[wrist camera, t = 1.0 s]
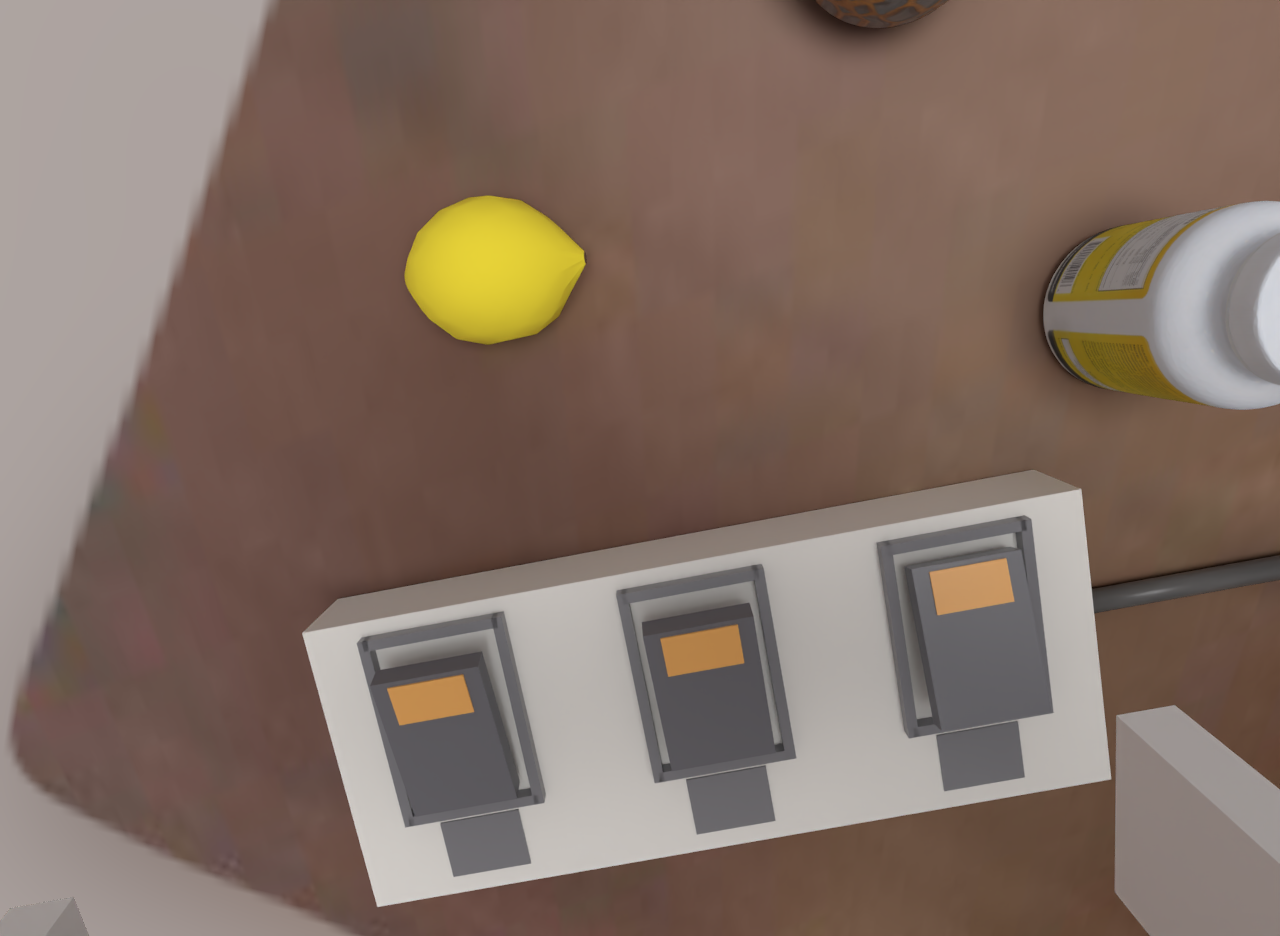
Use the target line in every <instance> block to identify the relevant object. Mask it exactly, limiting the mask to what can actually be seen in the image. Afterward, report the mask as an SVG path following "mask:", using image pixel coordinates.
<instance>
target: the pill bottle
mask: <svg viewBox="0 0 1280 936" xmlns="http://www.w3.org/2000/svg"><path fill="white" fill-rule="evenodd" d="M1043 322H1044V329H1045V334H1046V338H1047V341H1048V344H1049V346H1050V348H1051V350H1052V352H1053V354H1054V355H1055V357H1056V358H1057V360H1058V361H1059V362H1060V364H1061V365H1062V366H1063V367H1064V368H1065V369H1066V370H1067V371H1068V372H1070V373H1071V374H1072V375H1073V376H1075V377H1076V378H1078V379H1080V380H1082V381H1084V382H1085V383H1088V384H1090V385H1093V386H1096V387H1100V388H1104V389H1109V390H1114V391H1120V392H1127V393H1133V394H1139V395H1145V396H1151V397H1157V398H1163V399H1169V400H1176V401H1182V402H1188V403H1194V404H1201V405H1207V406H1213V407H1218V408H1226V409H1237V410H1246V409H1258V408H1264V407H1269V406H1273V405H1277V404H1280V202H1278V201H1257V202H1248V203H1241V204H1236V205H1230V206H1225V207H1219V208H1214V209H1209V210H1203V211H1198V212H1193V213H1187V214H1182V215H1176V216H1171V217H1166V218H1161V219H1155V220H1150V221H1145V222H1139V223H1134V224H1129V225H1123V226H1119V227H1115V228H1111V229H1108V230H1105V231H1103V232H1100V233H1098V234H1096V235H1094V236H1092V237H1090V238H1089V239H1087V240H1085V241H1084V242H1082V243H1081V244H1080V245H1078V246H1077V247H1076V248H1075V249H1074V250H1073V251H1071V252H1070V253H1069V254H1068V256H1067V257H1066V258H1065V259H1064V260H1063V262H1062V263H1061V264H1060V266H1059V267H1058V269H1057V270H1056V272H1055V274H1054V275H1053V277H1052V279H1051V281H1050V284H1049V287H1048V290H1047V292H1046V297H1045V301H1044V310H1043Z"/></svg>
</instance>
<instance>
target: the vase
mask: <svg viewBox="0 0 1280 936" xmlns="http://www.w3.org/2000/svg"><path fill="white" fill-rule="evenodd" d="M815 1H816V2H817V3H818V4H819V5H820V6H821V7H822V8H823V9H825V10H826V11H827V12H828V13H830V14H831V15H833V16H834V17H836V18H838V19H840V20H842V21H844V22H847V23H850V24H853V25H857V26H861V27H869V28H887V27H894V26H899V25H902V24H906V23H910V22H912V21H915V20H918V19H920V18H922V17H924V16H926V15H928V14H930V13H931V12H933V11H934V10H936V9H937V8H939V7H940V6H942V5H943V4H945V3H946V2H947V1H948V0H815Z"/></svg>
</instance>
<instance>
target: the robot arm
mask: <svg viewBox="0 0 1280 936" xmlns="http://www.w3.org/2000/svg"><path fill="white" fill-rule="evenodd" d="M1115 893H1116V894H1117V896H1118V897H1119V898H1120V899H1121V900H1122V902H1123V903H1124V904H1125V905H1126V907H1127V908H1128V909H1129V910H1130V912H1131V913H1132V914H1133V915H1134V917H1135V918H1136V919H1137V920H1138V922H1139V923H1140V924H1141V925H1142V926H1143V928H1144V929H1145V930H1146V931H1147V933H1148V934H1149V935H1150V936H1280V789H1278V788H1277V787H1276V786H1275V785H1273V784H1272V783H1271V782H1270V781H1268V780H1267V779H1266V778H1265V777H1263V776H1262V775H1261V774H1260V773H1259V772H1257V771H1256V770H1255V769H1254V768H1252V767H1251V766H1250V765H1249V764H1247V763H1246V762H1245V761H1244V760H1242V759H1241V758H1240V757H1239V756H1237V755H1236V754H1235V753H1234V752H1232V751H1231V750H1230V749H1229V748H1227V747H1226V746H1225V745H1224V744H1222V743H1221V742H1220V741H1219V740H1217V739H1216V738H1215V737H1214V736H1213V735H1211V734H1210V733H1209V732H1208V731H1206V730H1205V729H1204V728H1203V727H1201V726H1200V725H1199V724H1198V723H1196V722H1195V721H1194V720H1193V719H1191V718H1190V717H1189V716H1188V715H1186V714H1185V713H1184V712H1183V711H1181V710H1180V709H1179V708H1178V707H1176V706H1175V705H1173V706H1167V707H1161V708H1156V709H1150V710H1144V711H1138V712H1133V713H1127V714H1121V715H1116V808H1115ZM0 936H89V934H88V932H87V930H86V927H85V925H84V922H83V919H82V917H81V915H80V912H79V909H78V908H77V904H76V902H75V899H74V898H73V897H72V898H66V899H60V900H54V901H48V902H43V903H37V904H31V905H26V906H20V907H14V908H10V909H9V910H8V912H7V913H6V914H5V915H4V916H3V918H2V919H1V920H0Z"/></svg>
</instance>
